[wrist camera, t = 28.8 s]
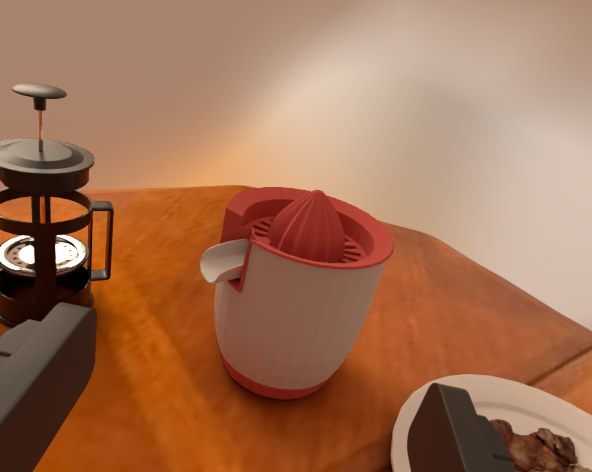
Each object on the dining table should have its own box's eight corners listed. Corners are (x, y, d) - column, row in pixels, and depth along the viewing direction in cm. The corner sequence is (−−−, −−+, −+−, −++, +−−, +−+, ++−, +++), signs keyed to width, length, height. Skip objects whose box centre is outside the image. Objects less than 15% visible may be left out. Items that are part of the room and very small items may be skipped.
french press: (-18, 338, 43) (-43, 92, 33) (-14, 282, 50) (-33, 65, 40) (115, 322, 49) (127, 109, 39) (102, 274, 56) (110, 83, 46)
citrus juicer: (169, 324, 51) (190, 152, 42) (305, 308, 59) (346, 162, 50) (210, 441, 39) (251, 235, 30) (373, 401, 47) (442, 230, 38)
